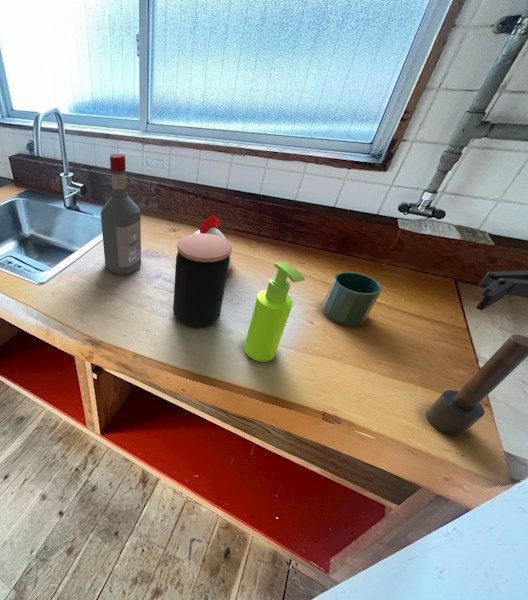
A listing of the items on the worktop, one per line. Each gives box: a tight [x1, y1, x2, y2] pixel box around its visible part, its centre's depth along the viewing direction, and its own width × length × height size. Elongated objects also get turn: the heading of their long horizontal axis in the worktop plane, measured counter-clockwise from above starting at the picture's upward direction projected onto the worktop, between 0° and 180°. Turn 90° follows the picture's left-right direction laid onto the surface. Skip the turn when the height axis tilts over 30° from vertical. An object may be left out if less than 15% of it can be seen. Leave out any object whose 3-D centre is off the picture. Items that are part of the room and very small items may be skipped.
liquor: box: [100, 153, 142, 276], centre depth 84 cm, size 9×9×30 cm
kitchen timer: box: [193, 214, 232, 275], centre depth 86 cm, size 14×14×15 cm
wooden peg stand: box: [425, 334, 528, 437], centre depth 46 cm, size 5×5×18 cm
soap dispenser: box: [243, 261, 306, 363], centre depth 58 cm, size 6×7×20 cm
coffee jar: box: [172, 233, 233, 329], centre depth 69 cm, size 11×11×18 cm
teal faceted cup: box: [321, 271, 383, 327], centre depth 70 cm, size 9×9×8 cm
